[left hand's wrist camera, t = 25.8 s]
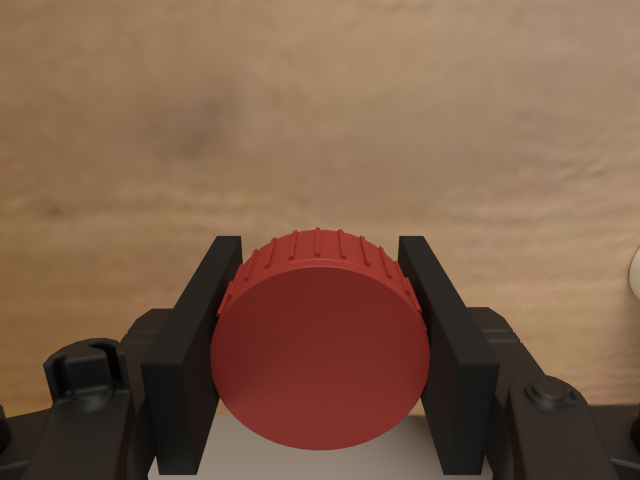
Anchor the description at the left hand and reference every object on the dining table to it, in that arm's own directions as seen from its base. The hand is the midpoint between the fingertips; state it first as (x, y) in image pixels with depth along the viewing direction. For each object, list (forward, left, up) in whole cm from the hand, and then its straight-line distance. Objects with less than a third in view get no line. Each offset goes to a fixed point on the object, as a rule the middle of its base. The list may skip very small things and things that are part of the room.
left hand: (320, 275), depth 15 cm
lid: (0, 0, +4) cm, 4 cm away
